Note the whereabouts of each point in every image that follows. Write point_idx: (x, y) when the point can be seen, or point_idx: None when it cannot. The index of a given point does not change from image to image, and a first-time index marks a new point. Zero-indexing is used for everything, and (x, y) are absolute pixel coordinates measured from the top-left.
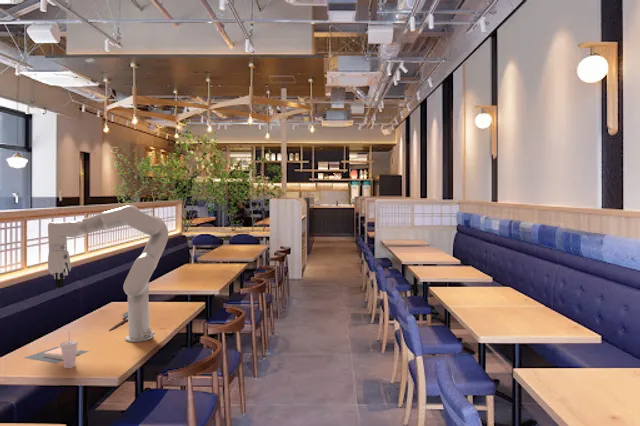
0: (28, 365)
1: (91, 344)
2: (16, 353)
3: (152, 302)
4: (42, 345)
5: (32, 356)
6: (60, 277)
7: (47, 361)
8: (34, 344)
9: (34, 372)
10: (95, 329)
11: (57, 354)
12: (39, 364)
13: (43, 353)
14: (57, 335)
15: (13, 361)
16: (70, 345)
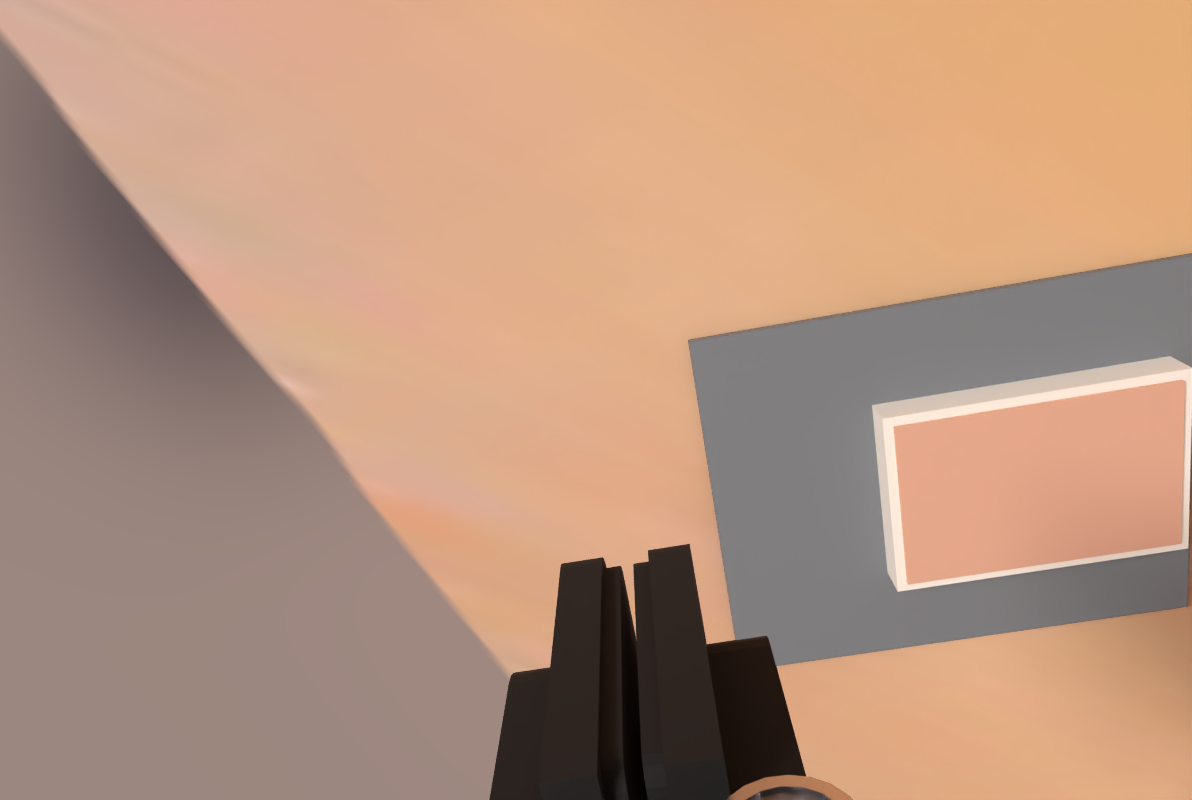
0: (965, 723)
1: (951, 57)
2: (506, 631)
3: None
4: (451, 382)
5: (777, 619)
6: None
7: (1061, 620)
8: (332, 408)
9: (1183, 772)
10: None
11: (1094, 555)
12: (1034, 670)
13: (786, 529)
14: (150, 67)
15: None
16: None
